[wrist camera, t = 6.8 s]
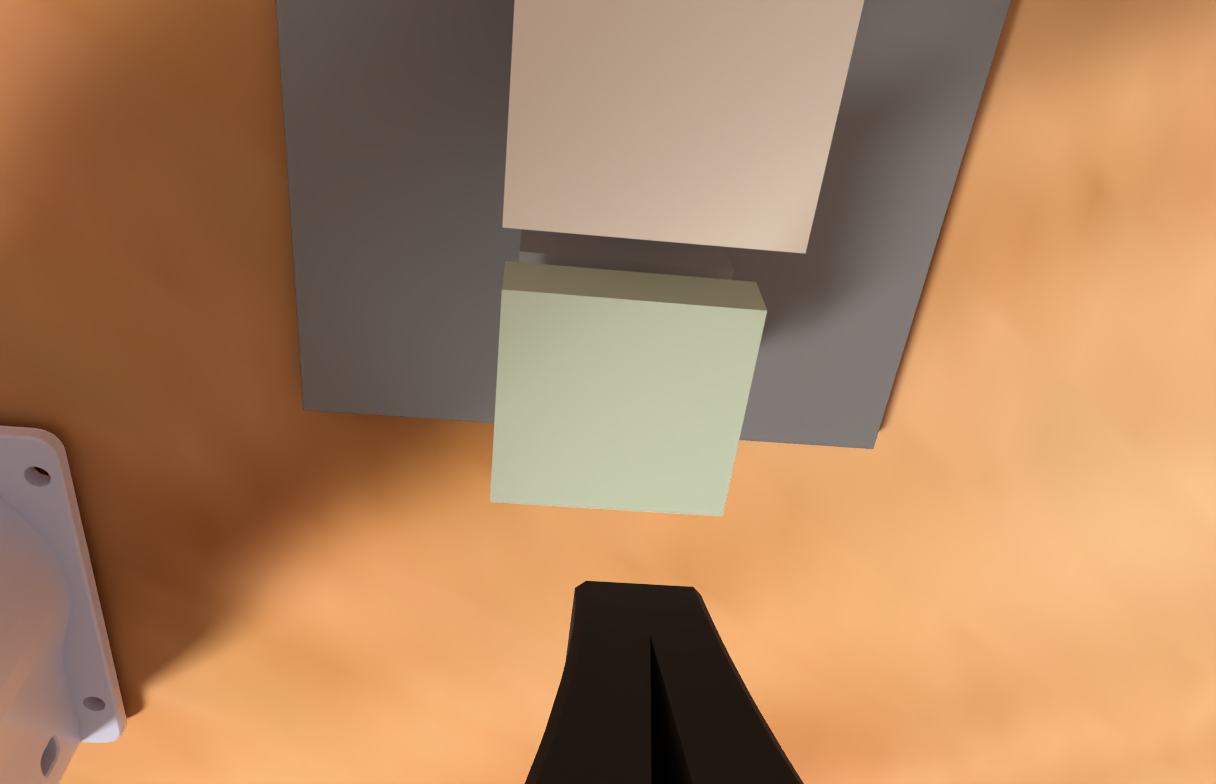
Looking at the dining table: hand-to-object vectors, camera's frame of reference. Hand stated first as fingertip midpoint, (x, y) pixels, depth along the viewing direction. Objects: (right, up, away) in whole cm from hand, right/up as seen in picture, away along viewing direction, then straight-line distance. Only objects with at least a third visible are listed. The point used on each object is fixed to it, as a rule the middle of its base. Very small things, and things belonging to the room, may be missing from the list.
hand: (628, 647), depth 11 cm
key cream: (0, +8, +3) cm, 9 cm away
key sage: (0, +4, +7) cm, 9 cm away
